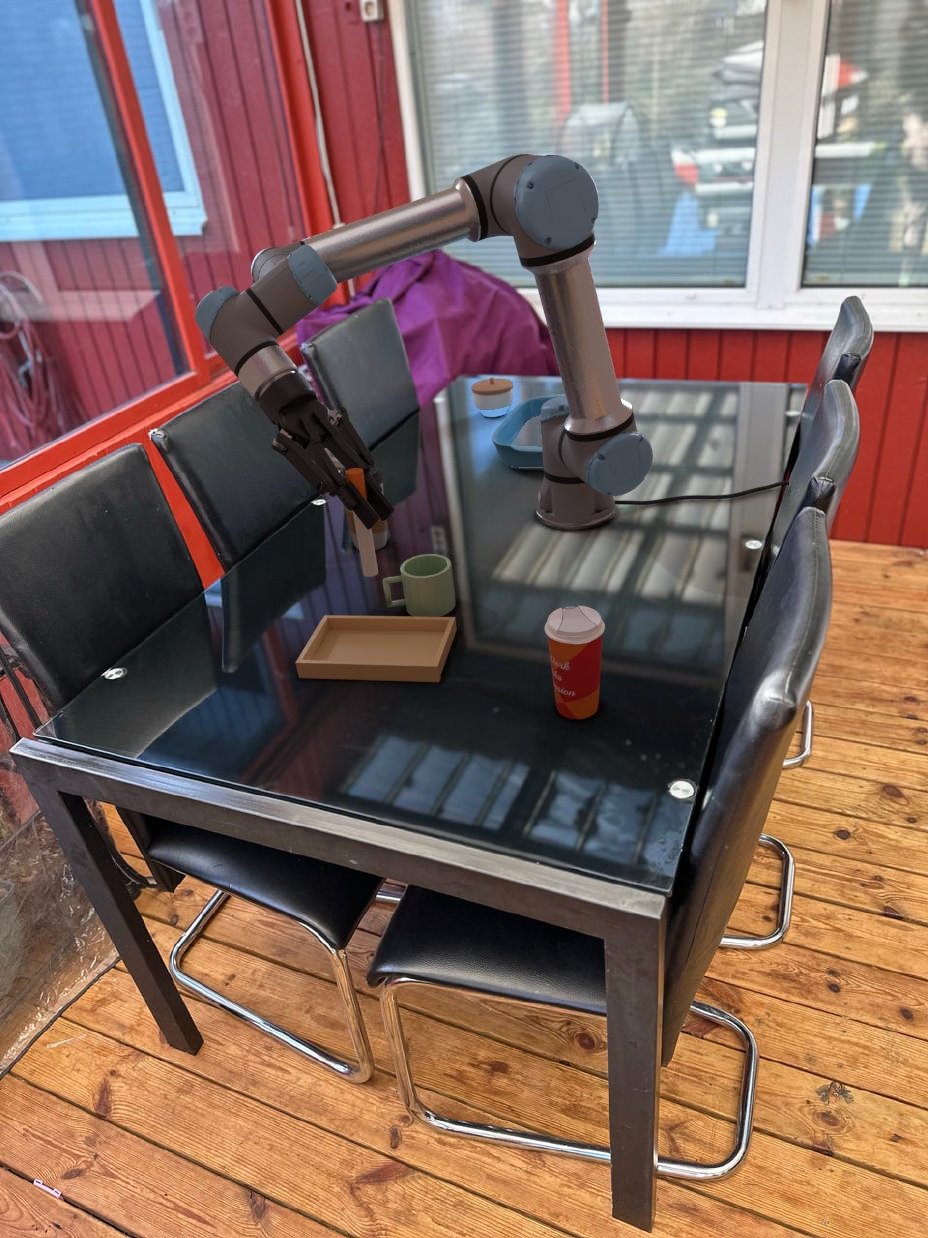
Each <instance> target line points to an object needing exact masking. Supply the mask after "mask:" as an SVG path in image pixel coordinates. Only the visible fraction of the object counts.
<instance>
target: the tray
mask: <svg viewBox="0 0 928 1238" xmlns="http://www.w3.org/2000/svg"><path fill="white" fill-rule="evenodd" d="M457 628H458V627H457V619H456V616H440V617H414V616H400V615H399V616H397V615H341V614H339V615H334V614H333V615H331V614H330V615H329V614H328V615H327V614H326V615H324V614H323V617H322V618H321V620H320V621H319V623H318V625H317V626H316V628H315V630H314V631H313V633H312V635H311V636H310V637H309V640H308V641H307V643H306V645H305V646H304V648H303V650H302V651H301V653H300V655H299V656H298V657H297V659H296V660H295V667H296V671H297V675H298V679H315V680H316V679H319V680H348V681H349V680H351V681H381V682H382V681H383V682H386V681H387V682H414V683H416V682H417V683H418V682H419V683H440V682H441V679H442V672H443V670H444V667H445V664H446V661H447V658H448V655H449V653H450V650H451V647H452V645H453V641H454V639H455V636H456V633H457Z"/></svg>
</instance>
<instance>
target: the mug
mask: <svg viewBox="0 0 928 1238" xmlns="http://www.w3.org/2000/svg"><path fill="white" fill-rule="evenodd" d="M399 570H400V575H395V576H389V577H384V578H383V579H382V586H383V587H382V588H383V592H384V600H385V605H386V607H387V608H389V609H390V608H396V607H402V606H405V611H406V612H407V614H408V615H409V616H411V617H444V616H445V615H447V614H449V613H450V612H451V611H453V610H454V608H455V607H456V603H457V601H456V593H455V583H454V576H453V575H454V574H453V568H452V561H451V560H450V559H449V558H448V557H447V556H445V555H443V554H436V553H426V554H419V555H415V556H412V557H410V558H408V559H406V560H405V561H404V562H403V563H401V564H400V567H399ZM394 583H395V584H396V583H401V586H402V591H403V592H402V593H403V598H402V599H395V600H393V598H392V592H391V586H390V584H394Z"/></svg>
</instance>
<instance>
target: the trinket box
mask: <svg viewBox="0 0 928 1238" xmlns="http://www.w3.org/2000/svg"><path fill="white" fill-rule="evenodd" d="M470 389H471V394H472V399H473V404H474V406H475V409H477V408H478V409H480V410H495V409H500V408H504V407H507V406H509V405H510V404H511V403H512V404H513V401H514V382H513V381H512V380H510V379H507V378H495V377H489V378H488V379H483V380H479V381H476V382H474V383H473V384H472V385H471V387H470Z"/></svg>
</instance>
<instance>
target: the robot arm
mask: <svg viewBox="0 0 928 1238" xmlns="http://www.w3.org/2000/svg"><path fill="white" fill-rule="evenodd" d="M597 187H598V186H597V185H596V182H595V180H594V178H593V176H592V175H591V174H590V173H589V171H588V170H587V169H586V168H585V167H584V166H583V165H582V164H580V163H578V162H577V161H575V160H572V159H570V158H568V157H566V156H562V155H558V154H545V155H541V154H529V153H520V154H515V155H511V156H507V157H506V158H502V159H501V160H498V161H496V162H493V163H491V164H490V165H487V166H484V167H482V168H480V169H478V170H476V171H473V172H470V173H468V174H465V175H462V176H460V177H457V178H455V179H454V181H453V184H452V186H451V187H449V188H448V189H444V190H441V191H439V192H436V193H433V194H430V195H427V196H424V197H422V198H419V199H415V200H413V201H410V202H407V203H403V204H401V205H398V206H395V207H393V208H390V209H387V210H384V211H381V212H378V213H375V214H373V215H370V216H367V217H364V218H361V219H357V220H355V221H353V222H350V223H347V224H344V225H341V226H338V227H335V228H332V229H330V230H327V231H324V232H321V233H318V234H315V235H312V236H309V237H306V238H304V239H302V240H300V241H295V242H293V243H289V244H286V245H284V246H281V247H279V246H271V247H266V248H264V249H262V250H261V251H259V252H257V254H256V255H255V256H254V258H253V260H252V261H251V266H250V275H251V282H252V284H251V286H250V287H247V288H246V289H245V290H243V291H241V292H240V291H238V290H237V289H236V288H235V287H233V286H231V285H230V286H229V285H224V286H220V287H218V288H217V289H216V290H211V291H209V292H208V293H206V294H205V296H204V297H202V299H201V300H200V301H199V303H198V304H197V306H196V308H195V312H194V319H195V320H194V321H195V323H196V325H197V327H198V328H199V329H200V331H201V332H202V334H203V335H204V337H205V338H206V339H207V341H208V343H209V345H211V347H212V348H213V349H214V351H215V352H216V353H217V354H218V356H219V357H220V358H221V359H222V361H223V363H225V365H227V367H228V368H229V370H230V371H231V372H232V373H233V374H234V376H235V377H236V378H237V379H238V381H239V382H240V384H241V385H242V386H243V387H244V389H245V390H246V391H247V392H248V394H249V396H251V398H252V399H253V400H254V401H255V402H256V403H258V406H259V408H260V410H261V411H262V412H263V413H264V415H265V416H266V417H267V418H268V420H269V421H270V423H272V425H274V426H277V431H278V432H277V433H276V435H275V437H274V438H273V441H272V442H271V444H270V447H271V449H272V450H273V451H275V452H277V453H278V454H279V455H281V456H283V457H284V458H285V459H286V460H287V461H288V462H289V463H290V464H291V465H292V466H293V467H294V468H295V469H296V470H297V472H298V473H299V474H300V475H301V476H302V477H303V478H304V479H305V480H306V481H307V482H308V484H309V485H311V487H312V488H313V489H315V491H316V492H317V493H318V494H319V495H322V496H325V495H326V494H328V495H329V496H330V497H332V498H335V497H337V498H338V499H339V501H340V502H341V503H342V505H343V506H344V505H345V507H346V508H347V509H348V510H349V511H351V510H353V511H354V513H355V514H356V515H357V517H358V518H359V519H360V520H361V522H362V523H363V524H364V526H365V527H366V528H367V529H368V530H369V529H371V528H372V527H373V526H374V524H375V523H376V522H377V521H378V520H379V517H380V518H381V520H382V521H385V520H386V521H387V520H388V519H389V517H390V516H391V515H392V514H393V513H394V511H395V510H396V509H395V508H394V507H393V505H392V504H391V502H389V500H388V499H387V498H386V496H385V495H383V494H382V493H381V492H382V491H383V492H384V489H383V490H382V488H381V486H380V485H379V484H378V482H377V481H376V480H375V479H374V477H373V476H372V475H371V473H370V470H371V468H372V467H373V466H374V465H376V462H377V461H376V459H375V458H374V456H373V455H372V452H371V451H370V450H369V448H368V447H367V445H366V444H365V442H364V440H363V439H362V436H360V434H359V433H358V431H357V430H356V428H355V426H354V424H353V423H352V421H351V420H350V417H349V411H348V410H347V408H346V407H344V406H340V407H339V408H338V410H335V409H329V407H327V405H325V404H323V403H322V402H320V400H319V399H318V396H317V393H316V390H315V389H314V387H313V386H312V385H311V383H310V382H309V381H308V379H307V378H306V377H305V376H304V375H303V373H301V372H299V368H298V367H297V365H296V364H295V363H294V362H293V360H292V359H291V358H290V356H289V355H288V354H287V353H286V351H285V350H284V349H283V348H282V347H281V345H280V344H279V343H278V342H277V339H278V338H280V336H282V335H284V334H285V333H286V332H287V331H289V330H290V329H291V328H292V327H293V326H295V325H296V324H298V323H299V322H300V321H302V320H303V319H305V317H307V316H308V315H309V314H311V313H313V311H315V310H316V309H317V308H318V307H320V306H323V305H324V304H325V302H326V301H327V300H328V299H329V298H330V297H331V296H332V295H333V294H334V293H335V292H336V291H337V289H338V284H341V283H344V282H347V281H349V280H352V279H355V278H358V277H361V276H364V275H366V274H369V273H373V272H375V271H378V270H380V269H383V268H386V267H390V266H391V265H392V266H393V265H395V264H397V263H400V262H403V261H406V260H409V259H412V258H415V257H417V256H420V255H423V254H426V253H429V252H432V251H434V250H437V249H440V248H442V247H443V248H444V247H445V246H449V245H452V244H453V243H458V242H459V241H462V240H469V241H470V242H472V243H478V242H480V241H483V240H486V239H490V238H495V237H512V238H513V241H514V244H515V248H516V251H517V255H518V260H519V263H520V266H521V267H522V268H523V269H524V270H526V271H528V272H530V273H531V274H533V276H534V281H535V285H536V287H537V291H538V295H539V298H540V303H541V306H542V310H543V314H544V317H545V322H546V326H547V329H548V333H549V337H550V341H551V345H552V348H553V352H554V356H555V360H556V363H557V364H556V365H557V367H558V371H559V375H560V379H561V382H562V387H563V390H564V394H566V395H565V396H560V397H556V398H553V399H550V400H548V401H546V402H545V403H544V404H543V405H542V407H541V420H540V423H541V435H542V452H543V468H544V471H543V480H542V484H541V487H540V490H539V491H538V494H537V501H536V506H535V513H536V519H537V521H538V522H540V523H541V524H542V525H544V526H545V527H549V528H552V529H556V530H564V531H580V530H581V531H582V530H589V529H593V528H597V527H600V526H603V525H605V524H607V523H608V522H610V521H611V520H612V519H614V517H615V515H616V506H617V505H618V506H619V505H621V506H622V505H623V506H624V505H628V506H632V505H633V506H648V505H649V506H650V505H658V504H665V503H670V502H675V501H686V500H688V501H689V500H726V499H735V498H739V497H743V496H746V495H751V494H753V493H757V492H762V491H767V490H768V491H769V490H771V489H774V488H778V487H781V486H789V480H782V481H781V480H780V481H777V482H773V483H771V484H768V485H762V486H757V487H753V488H750V489H746V490H742V491H738V492H734V493H728V494H690V495H689V494H687V495H686V494H685V495H677V496H669V497H664V498H658V499H651V500H623V499H621V500H615V498H614V497H621V496H623V495H626V494H628V493H630V492H632V491H633V490H635V489H636V488H638V487H639V486H640V485H641V484H642V483H643V481H645V477H646V476H647V475H648V474H649V473H650V471H651V468H652V465H653V461H654V451H653V447H652V444H651V443H650V442H649V440H648V439H647V437H646V436H645V435H644V434H642V433H640V432H639V430H638V427H637V423H636V418H635V414H634V409H633V406H632V404H631V403H630V402H628V401H627V400H624V399H623V398H621V394H620V389H619V386H618V381H617V377H616V376H617V375H616V372H615V367H614V363H613V359H612V354H611V350H610V346H609V341H608V337H607V332H606V328H605V324H604V319H603V314H602V310H601V306H600V301H599V297H598V292H597V288H596V283H595V280H594V273H593V270H592V266H591V262H590V254H591V252H592V251H593V249H594V248H595V246H596V244H597V239H596V236H595V232H594V231H595V230H594V227H595V223H596V220H597V219H598V217H599V213H600V212H599V211H600V198H599V197H600V196H599V191H598V188H597ZM326 449H327V450H328V451H329V452H330V454H331V455H332V456H333V457H334V458H335V459H336V460H337V461H338V462H339V463H340V464H341V465H342V466H343V467H344V468H346V469H347V470H349V469H352V468H361V469H363V474H364V480H365V486H366V493H367V501H366V500H365V499H364V497H363V496H362V495H361V493H360V492H359V491H358V490H357V488H356V487H355V486H354V484H353V483H352V482H351V481H350V482H348V483H346V485H345V484H344V483H345V481H344V479H343V477H342V476H341V474H340V471H339V470H338V468H337V466H336V465H335V463H334V461H333V460H332V458H331V457H330V455H329V454H328V452H327V451H326ZM368 503H369V504H370V505H371V506H370V505H369V504H368ZM345 507H344V508H345ZM371 507H372V508H373V509H374V510H373V509H372V508H371ZM375 512H376V513H377V514H378V515H377V514H376V513H375ZM378 516H379V517H378Z"/></svg>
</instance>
